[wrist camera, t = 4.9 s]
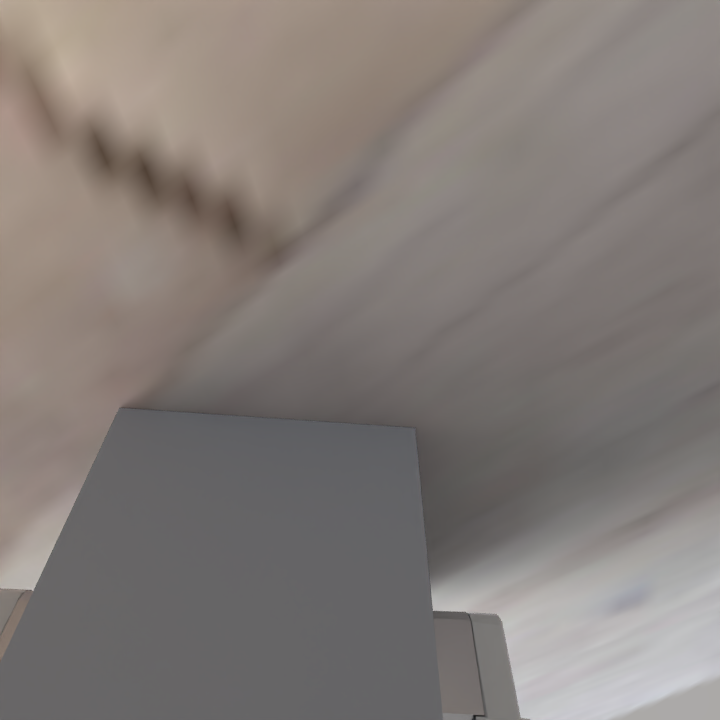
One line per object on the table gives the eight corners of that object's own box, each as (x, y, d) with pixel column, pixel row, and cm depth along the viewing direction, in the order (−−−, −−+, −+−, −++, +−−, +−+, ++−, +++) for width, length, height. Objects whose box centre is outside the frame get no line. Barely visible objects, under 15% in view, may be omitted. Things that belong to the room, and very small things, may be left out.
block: (120, 407, 11) (-77, 825, 6) (415, 426, 11) (455, 844, 6) (150, 584, 14) (36, 961, 9) (383, 597, 14) (394, 970, 9)
